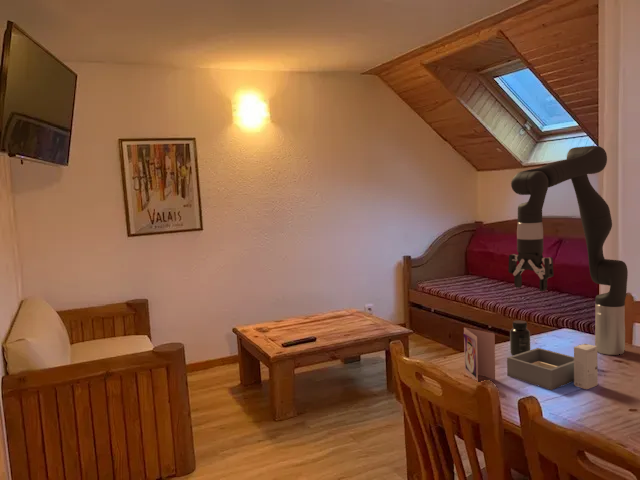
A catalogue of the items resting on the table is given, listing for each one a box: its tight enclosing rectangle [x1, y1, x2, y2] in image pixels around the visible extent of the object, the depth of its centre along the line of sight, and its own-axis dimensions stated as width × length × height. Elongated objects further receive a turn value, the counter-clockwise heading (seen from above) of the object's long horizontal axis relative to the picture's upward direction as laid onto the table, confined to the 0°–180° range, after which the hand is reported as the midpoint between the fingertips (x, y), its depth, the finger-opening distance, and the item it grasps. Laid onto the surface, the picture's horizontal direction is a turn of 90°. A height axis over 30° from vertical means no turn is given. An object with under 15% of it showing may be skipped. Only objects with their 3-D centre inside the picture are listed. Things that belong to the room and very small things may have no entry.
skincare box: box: [573, 343, 599, 390], centre depth 163 cm, size 6×4×12 cm
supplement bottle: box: [509, 319, 531, 356], centre depth 194 cm, size 7×7×12 cm
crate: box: [506, 347, 574, 391], centre depth 172 cm, size 16×16×6 cm
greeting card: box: [462, 327, 496, 382], centre depth 174 cm, size 11×7×15 cm, turn 5°
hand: (530, 289), depth 167 cm, fingers open, 8 cm apart
